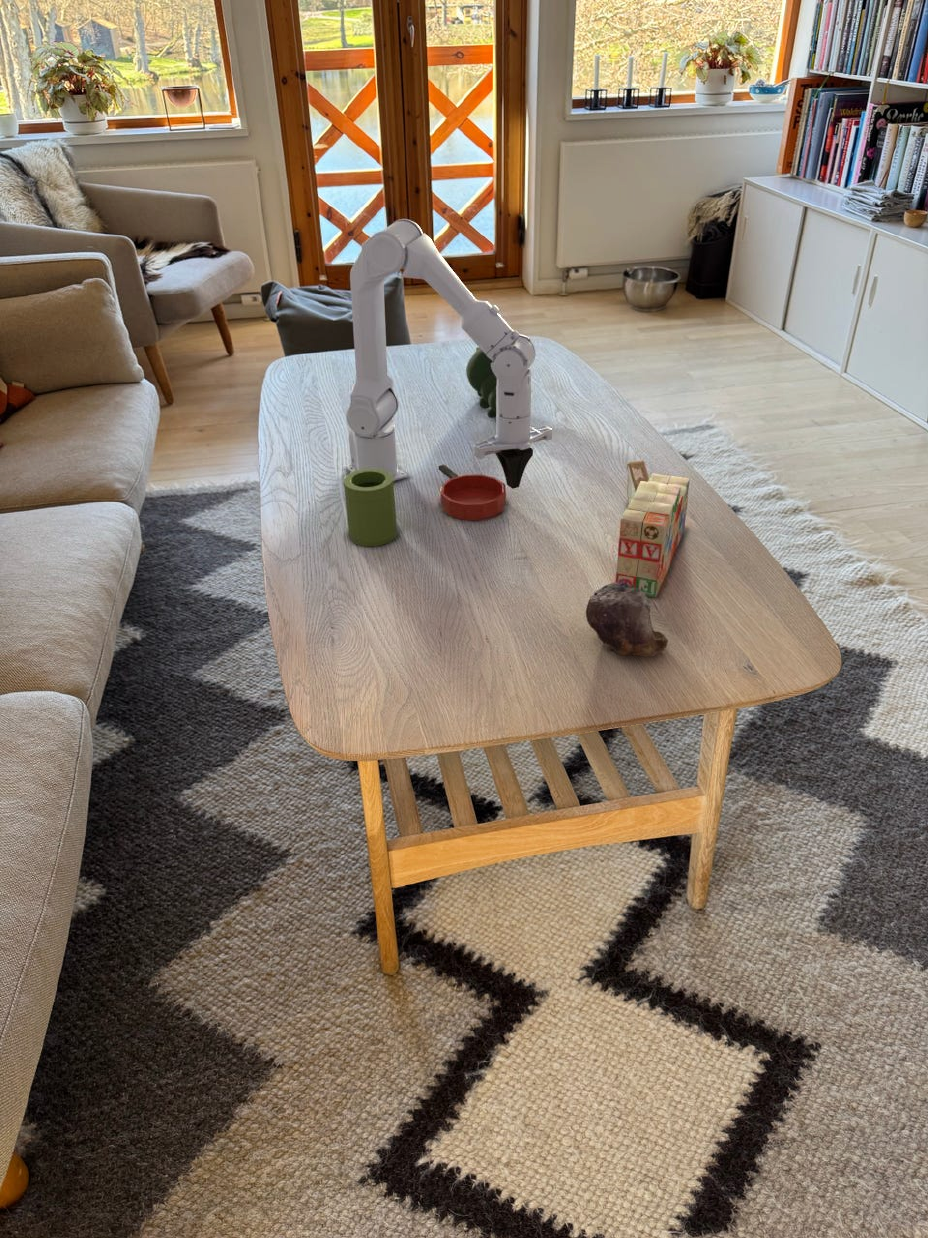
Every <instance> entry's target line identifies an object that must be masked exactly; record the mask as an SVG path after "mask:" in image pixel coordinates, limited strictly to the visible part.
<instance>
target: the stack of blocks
mask: <svg viewBox="0 0 928 1238" xmlns="http://www.w3.org/2000/svg"><path fill="white" fill-rule="evenodd" d="M690 480H691V479H690V478H688V477H683V476H682V477H681V476H675V475H668V474H667V475H666V474H660V473H651V474H650V476H649V480H648V482H645V481H641V482H640V484H639V486H638V488H637V490H636V493H635V495H634V497H633V499H632V500H631V501H630V503H628V505H627V506H626V509H625V510H624V512H623V514H622V516H621V518H620V524H619V525H620V526H619V538H618V547H617V563H616V564H617V565H616V573H615V583H617V582H619V581H625V582H626V583H628V584H630V585H632V584H633V585H634V586H635V588H638V589H640V590H641V591H642V592H644V593H645V595H646V597H649V598H656V597H657V595H658V593H659V591H660V588H661V587H662V585H663V583H664V580H665V578H666V576H667V573H668V571H669V568H670V564H671V562H672V559H673V557H674V553H675V551H676V549H677V547H678V545H679V543H680V541H681V538H682V536H683V533H684V531H685V526H686V517H687V512H688V511H687V510H688V503H689V487H690Z"/></svg>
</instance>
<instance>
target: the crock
mask: <svg viewBox="0 0 928 1238" xmlns="http://www.w3.org/2000/svg"><path fill="white" fill-rule="evenodd" d="M394 483H395V481H393V475H392V474H390V473H389V472H388V471H385V470H382V469H375V468H369V469H360V470H357V471H353V472H349V473H348V474H346V475H345V477H344V478H343V489H344V499H345V500H344V501H345V509H346V519H347V526H348V527H347V528H348V536H349V539H350V541H351V542H352V543H354V544H356V545H359V546H363V547H379V546H383V545H386V544H389V543H391V542H392V541H394V540H395V539H396V537H397V535H398V523H397V511H396V510H397V509H396V497H395V484H394Z"/></svg>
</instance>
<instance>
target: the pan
mask: <svg viewBox="0 0 928 1238" xmlns="http://www.w3.org/2000/svg"><path fill="white" fill-rule="evenodd" d="M437 469H438V471H439V472H440V473H442V474H443V475H444V476H445V477H447V478H448V479H447V480H446V481H445V482H444V483H443V484H441V485H440V506H441V509H442V511H443V512H444V513H445V514H447V515H448V516H450V517H452V518H455V519H458V520H464V521H480V520H482V521H483V520H486V519H490V518H493V517H496V516H497V515H499V514H501V513H502V512H503V511H504V509H505V507H506V505H507V488H506V484H505V483H504V482H503V481H501V480H499V479H498V478H497V477H495V476H494V477H493V476H491V475H487V474H476V473H475V474H463V475H459V474H457V473H456V472H454V471H453V470H452V469H450V468H449V467H448V466H447V465H446V464H441V465H438V467H437Z"/></svg>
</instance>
